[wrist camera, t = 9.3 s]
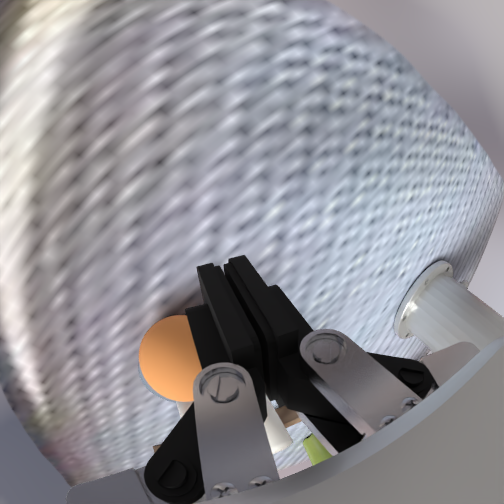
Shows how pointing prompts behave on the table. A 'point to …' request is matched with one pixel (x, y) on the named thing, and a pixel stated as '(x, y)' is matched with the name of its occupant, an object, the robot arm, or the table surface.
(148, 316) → the table surface
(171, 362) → the ball
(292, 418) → the bar
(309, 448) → the plant pot
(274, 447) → the pin
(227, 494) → the robot arm
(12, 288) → the table surface
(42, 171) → the table surface
